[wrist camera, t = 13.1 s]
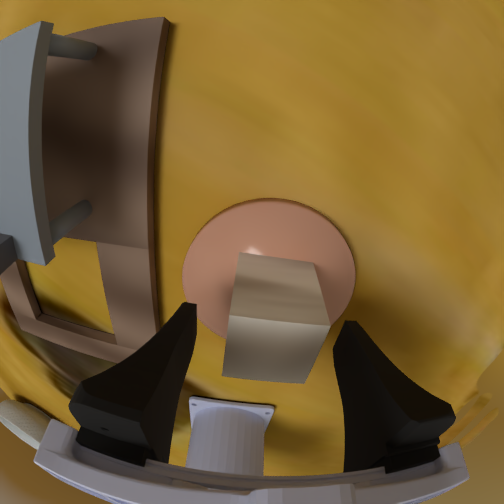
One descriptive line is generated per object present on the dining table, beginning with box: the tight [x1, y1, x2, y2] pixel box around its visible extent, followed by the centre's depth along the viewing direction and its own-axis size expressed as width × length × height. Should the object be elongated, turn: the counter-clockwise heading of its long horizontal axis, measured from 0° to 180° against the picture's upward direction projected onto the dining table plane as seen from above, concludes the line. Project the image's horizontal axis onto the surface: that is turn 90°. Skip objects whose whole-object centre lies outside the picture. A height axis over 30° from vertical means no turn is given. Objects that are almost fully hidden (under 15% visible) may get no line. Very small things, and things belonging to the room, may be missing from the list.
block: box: [222, 252, 331, 384], centre depth 14 cm, size 4×4×5 cm
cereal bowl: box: [0, 400, 51, 450], centre depth 32 cm, size 17×17×7 cm
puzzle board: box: [0, 17, 170, 363], centre depth 15 cm, size 24×16×1 cm, turn 173°
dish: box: [182, 198, 355, 339], centre depth 16 cm, size 10×10×1 cm
